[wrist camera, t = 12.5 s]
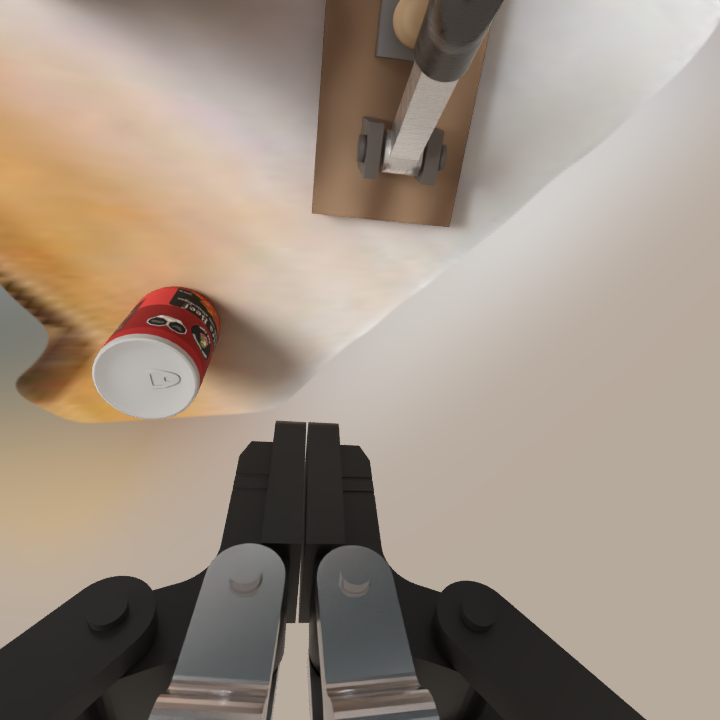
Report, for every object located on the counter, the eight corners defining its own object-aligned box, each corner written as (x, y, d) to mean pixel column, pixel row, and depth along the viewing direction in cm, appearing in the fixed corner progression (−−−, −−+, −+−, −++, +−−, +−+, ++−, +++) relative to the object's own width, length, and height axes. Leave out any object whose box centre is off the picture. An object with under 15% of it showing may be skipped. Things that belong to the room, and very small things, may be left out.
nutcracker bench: (312, 207, 43) (311, 232, 36) (332, -90, 33) (336, -134, 27) (444, 221, 45) (467, 247, 38) (500, -61, 35) (545, -95, 28)
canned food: (234, 342, 49) (214, 405, 40) (160, 364, 50) (123, 431, 40) (201, 273, 45) (170, 324, 36) (121, 297, 46) (70, 354, 36)
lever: (372, 183, 36) (464, -86, 16) (374, 136, 36) (467, -183, 17) (419, 188, 36) (566, -67, 17) (422, 142, 37) (567, -162, 17)
